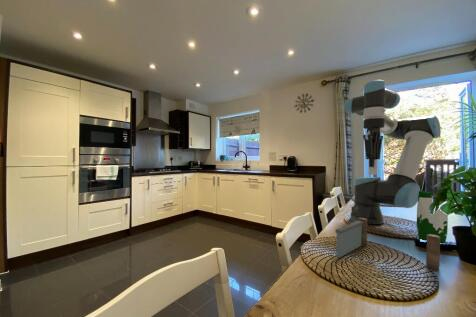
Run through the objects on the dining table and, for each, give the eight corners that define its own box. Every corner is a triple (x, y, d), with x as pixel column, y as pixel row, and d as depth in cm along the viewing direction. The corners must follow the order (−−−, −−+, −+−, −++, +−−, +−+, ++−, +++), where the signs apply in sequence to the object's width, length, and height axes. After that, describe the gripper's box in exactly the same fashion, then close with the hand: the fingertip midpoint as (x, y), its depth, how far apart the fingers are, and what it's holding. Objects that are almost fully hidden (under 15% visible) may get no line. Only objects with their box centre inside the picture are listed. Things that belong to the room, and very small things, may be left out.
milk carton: (415, 236, 91) (416, 189, 91) (444, 241, 86) (446, 192, 86) (417, 242, 84) (418, 192, 84) (448, 249, 79) (450, 195, 79)
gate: (357, 243, 82) (357, 220, 81) (362, 245, 80) (362, 221, 80) (335, 256, 72) (335, 229, 71) (340, 258, 70) (341, 230, 70)
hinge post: (360, 242, 84) (360, 217, 84) (368, 245, 82) (368, 219, 82) (356, 244, 82) (356, 218, 82) (364, 247, 80) (364, 220, 80)
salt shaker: (364, 232, 95) (364, 206, 95) (349, 231, 96) (350, 205, 96) (359, 228, 101) (359, 203, 100) (345, 227, 102) (346, 202, 101)
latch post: (427, 265, 67) (428, 233, 67) (440, 269, 65) (441, 236, 65) (424, 267, 65) (425, 235, 65) (437, 272, 63) (438, 238, 63)
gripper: (376, 115, 83) (375, 176, 83) (390, 119, 90) (389, 174, 91) (356, 118, 89) (355, 174, 89) (371, 121, 96) (370, 173, 97)
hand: (372, 174), depth 90 cm, fingers closed
